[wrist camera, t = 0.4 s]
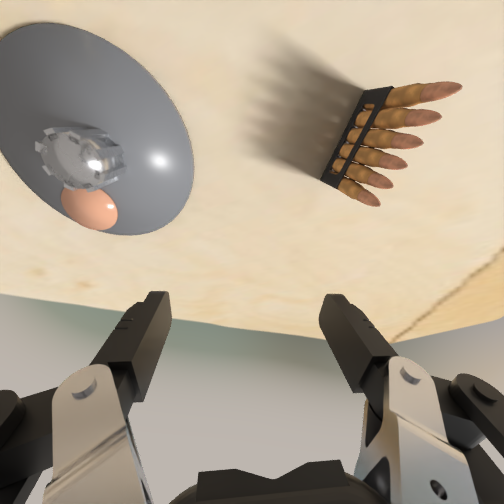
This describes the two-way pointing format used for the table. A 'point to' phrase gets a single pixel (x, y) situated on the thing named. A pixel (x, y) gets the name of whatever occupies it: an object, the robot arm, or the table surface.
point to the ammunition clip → (381, 136)
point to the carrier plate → (92, 130)
